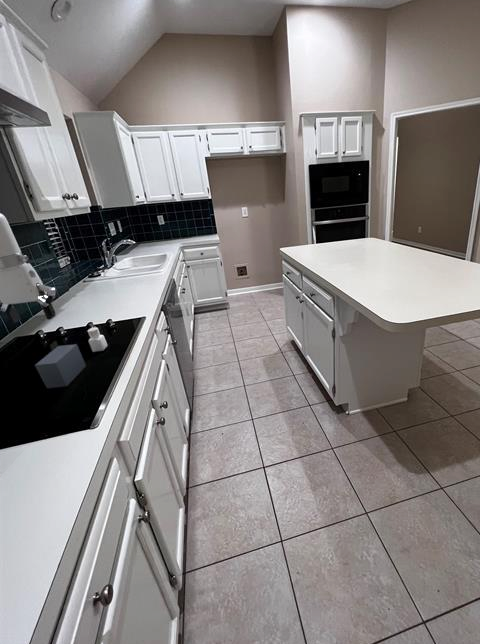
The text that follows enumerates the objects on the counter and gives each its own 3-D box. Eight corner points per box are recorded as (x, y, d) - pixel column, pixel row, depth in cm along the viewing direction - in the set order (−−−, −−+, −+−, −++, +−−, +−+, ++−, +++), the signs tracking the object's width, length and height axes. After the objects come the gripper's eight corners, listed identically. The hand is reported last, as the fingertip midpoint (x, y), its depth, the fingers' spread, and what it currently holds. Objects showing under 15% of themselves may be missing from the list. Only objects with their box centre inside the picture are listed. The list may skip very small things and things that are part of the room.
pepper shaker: (109, 349, 117) (100, 326, 113) (104, 354, 113) (95, 331, 109) (98, 350, 117) (89, 327, 113) (93, 355, 113) (83, 332, 109)
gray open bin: (49, 392, 95) (34, 365, 91) (70, 371, 105) (58, 346, 100) (69, 390, 95) (55, 363, 91) (88, 370, 105) (76, 344, 101)
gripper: (48, 255, 88) (71, 311, 95) (-18, 262, 87) (11, 318, 94) (32, 261, 81) (58, 321, 88) (-40, 269, 80) (-7, 329, 87)
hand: (34, 319), depth 91 cm, fingers open, 9 cm apart
